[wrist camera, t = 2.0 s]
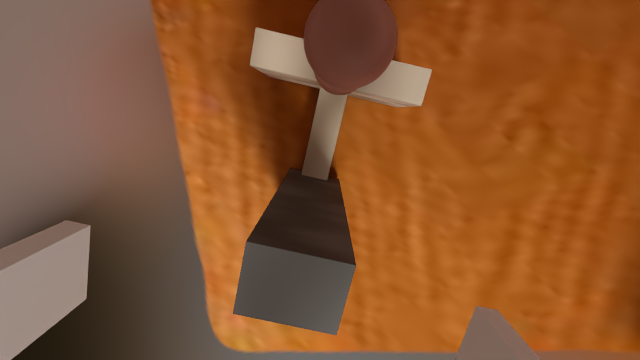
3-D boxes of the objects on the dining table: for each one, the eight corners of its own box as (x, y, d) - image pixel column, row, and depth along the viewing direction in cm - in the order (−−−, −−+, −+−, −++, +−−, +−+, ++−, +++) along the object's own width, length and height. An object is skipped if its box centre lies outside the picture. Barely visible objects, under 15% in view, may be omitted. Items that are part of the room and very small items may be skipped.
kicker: (406, 72, 23) (536, 10, 9) (365, 221, 25) (413, 355, 11) (275, 40, 22) (192, -76, 8) (247, 194, 25) (150, 300, 11)
